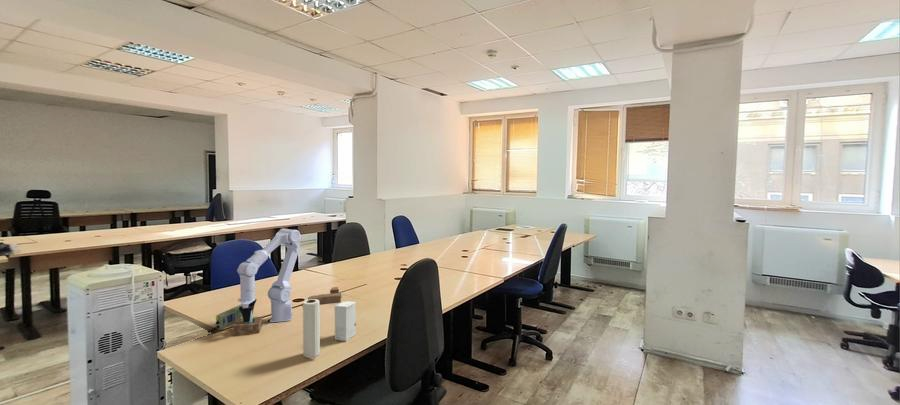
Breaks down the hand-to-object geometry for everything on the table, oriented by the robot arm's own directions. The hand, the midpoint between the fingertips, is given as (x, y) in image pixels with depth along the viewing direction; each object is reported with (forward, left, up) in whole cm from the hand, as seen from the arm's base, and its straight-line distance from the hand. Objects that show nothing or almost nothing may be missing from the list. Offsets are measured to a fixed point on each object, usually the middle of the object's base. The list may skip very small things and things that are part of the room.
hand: (248, 318), depth 175 cm
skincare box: (-41, +20, -5) cm, 46 cm away
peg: (0, 0, -5) cm, 5 cm away
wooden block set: (-34, -37, -6) cm, 50 cm away
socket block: (0, 0, -5) cm, 5 cm away
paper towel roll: (-27, +34, -5) cm, 44 cm away
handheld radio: (+10, -11, -6) cm, 16 cm away
